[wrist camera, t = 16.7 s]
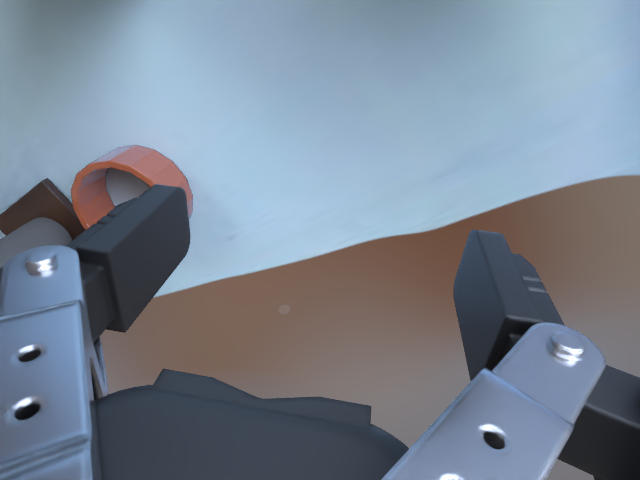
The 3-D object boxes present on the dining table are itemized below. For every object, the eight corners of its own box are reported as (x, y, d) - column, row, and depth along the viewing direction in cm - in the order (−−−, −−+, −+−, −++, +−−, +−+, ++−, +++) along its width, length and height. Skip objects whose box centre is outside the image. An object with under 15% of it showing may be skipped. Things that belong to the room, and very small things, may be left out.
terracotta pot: (81, 175, 48) (50, 193, 43) (145, 126, 43) (118, 141, 39) (147, 248, 51) (125, 270, 47) (212, 209, 47) (194, 230, 43)
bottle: (56, 264, 54) (-47, 348, 41) (19, 230, 52) (-102, 307, 39) (83, 244, 51) (-19, 327, 39) (45, 208, 49) (-75, 283, 37)
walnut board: (-3, 218, 53) (-9, 221, 52) (47, 177, 48) (41, 181, 48) (64, 281, 57) (59, 285, 56) (115, 248, 52) (110, 253, 51)
